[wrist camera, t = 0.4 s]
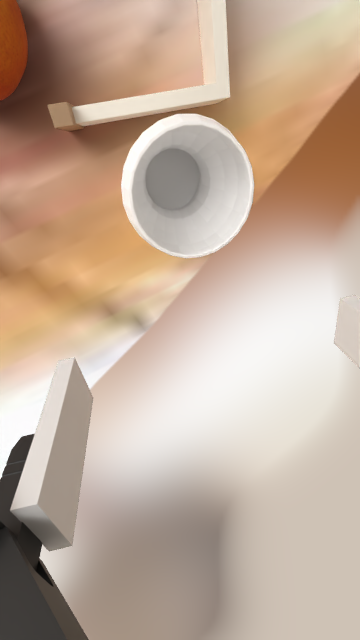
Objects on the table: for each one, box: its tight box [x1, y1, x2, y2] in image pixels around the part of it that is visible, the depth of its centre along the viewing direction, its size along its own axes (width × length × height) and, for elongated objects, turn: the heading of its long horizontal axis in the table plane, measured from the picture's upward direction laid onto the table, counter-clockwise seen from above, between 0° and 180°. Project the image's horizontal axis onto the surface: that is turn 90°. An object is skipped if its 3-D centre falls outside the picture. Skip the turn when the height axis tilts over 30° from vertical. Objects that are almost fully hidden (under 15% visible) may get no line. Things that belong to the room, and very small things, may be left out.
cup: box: [121, 114, 254, 258], centre depth 28 cm, size 11×11×15 cm
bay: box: [48, 0, 230, 131], centre depth 24 cm, size 16×16×7 cm
